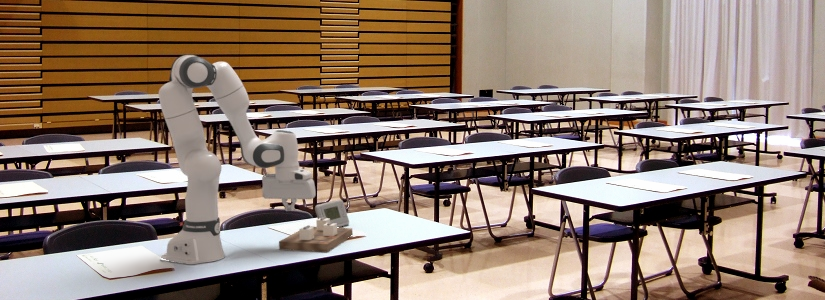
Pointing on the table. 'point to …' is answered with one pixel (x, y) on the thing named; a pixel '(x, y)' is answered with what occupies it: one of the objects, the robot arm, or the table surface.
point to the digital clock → (333, 212)
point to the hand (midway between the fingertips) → (289, 210)
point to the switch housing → (315, 241)
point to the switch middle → (330, 229)
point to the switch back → (322, 222)
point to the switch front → (306, 233)
